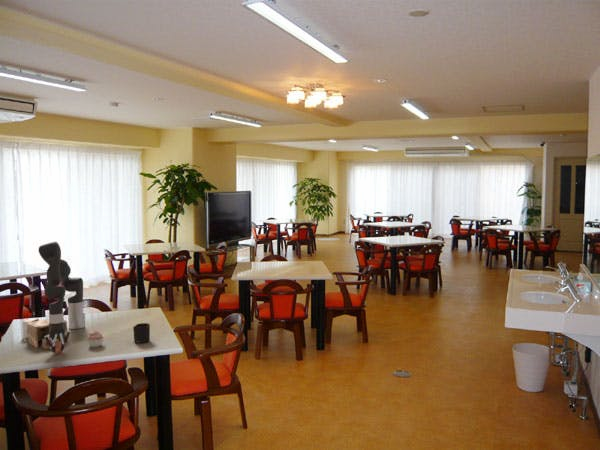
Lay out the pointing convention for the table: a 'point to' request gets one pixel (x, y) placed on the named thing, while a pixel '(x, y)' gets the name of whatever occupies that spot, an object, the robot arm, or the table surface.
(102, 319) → the table surface
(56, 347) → the tethered block
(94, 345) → the cupcake
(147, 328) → the pen holder
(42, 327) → the oak shelf
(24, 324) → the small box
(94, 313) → the table surface
